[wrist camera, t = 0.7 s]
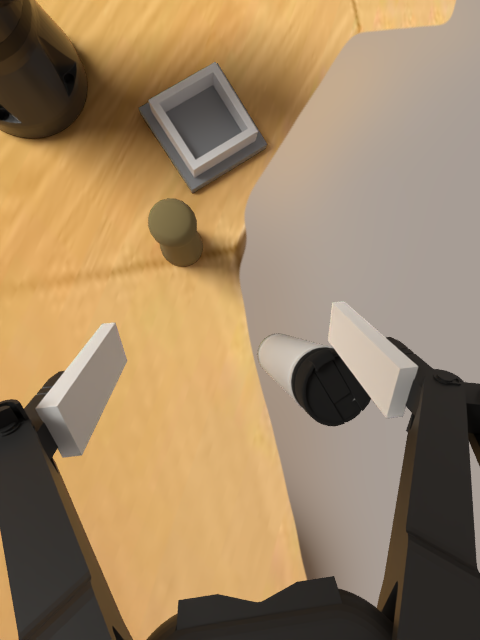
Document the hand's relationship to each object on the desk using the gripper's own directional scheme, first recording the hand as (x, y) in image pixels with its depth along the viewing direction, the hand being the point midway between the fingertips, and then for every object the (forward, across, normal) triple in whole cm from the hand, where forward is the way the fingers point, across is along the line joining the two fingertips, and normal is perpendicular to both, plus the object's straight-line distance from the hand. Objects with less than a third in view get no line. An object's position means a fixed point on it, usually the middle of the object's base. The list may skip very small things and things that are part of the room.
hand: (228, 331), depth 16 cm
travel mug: (+19, +7, -15) cm, 25 cm away
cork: (+26, -5, 0) cm, 26 cm away
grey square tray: (+33, 0, +15) cm, 36 cm away
